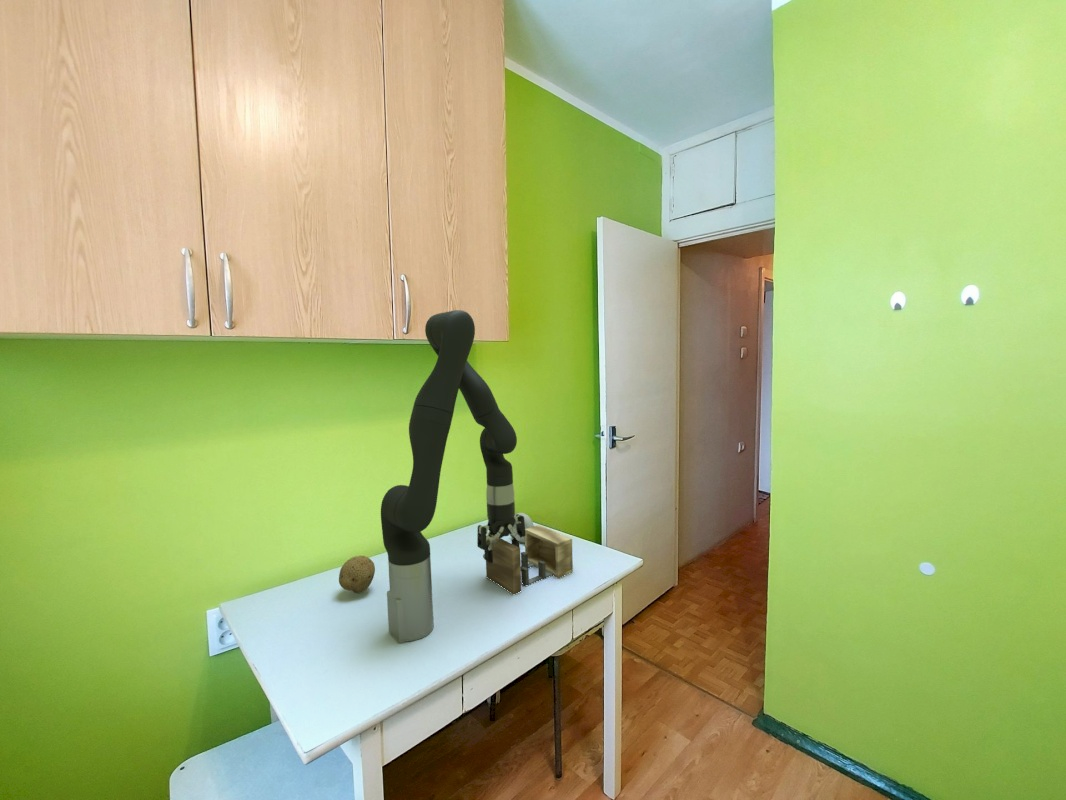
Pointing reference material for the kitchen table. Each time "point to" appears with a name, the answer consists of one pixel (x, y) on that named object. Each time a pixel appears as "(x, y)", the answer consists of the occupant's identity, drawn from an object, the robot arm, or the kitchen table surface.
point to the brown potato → (357, 574)
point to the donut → (527, 524)
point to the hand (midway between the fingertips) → (502, 557)
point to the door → (505, 566)
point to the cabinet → (546, 554)
